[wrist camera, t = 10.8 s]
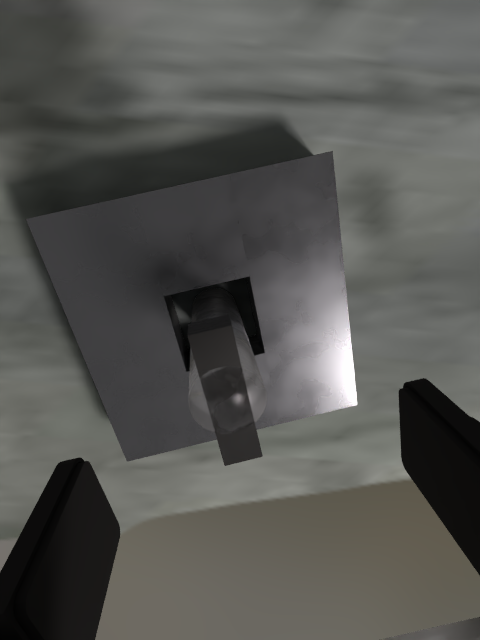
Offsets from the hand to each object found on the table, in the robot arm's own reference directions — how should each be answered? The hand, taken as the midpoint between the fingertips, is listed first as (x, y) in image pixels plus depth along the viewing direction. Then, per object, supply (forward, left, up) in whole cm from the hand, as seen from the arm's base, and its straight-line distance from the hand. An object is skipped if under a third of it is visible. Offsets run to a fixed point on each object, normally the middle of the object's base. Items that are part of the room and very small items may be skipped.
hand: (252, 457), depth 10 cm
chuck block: (+1, 0, -14) cm, 14 cm away
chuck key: (+1, 0, -14) cm, 14 cm away
